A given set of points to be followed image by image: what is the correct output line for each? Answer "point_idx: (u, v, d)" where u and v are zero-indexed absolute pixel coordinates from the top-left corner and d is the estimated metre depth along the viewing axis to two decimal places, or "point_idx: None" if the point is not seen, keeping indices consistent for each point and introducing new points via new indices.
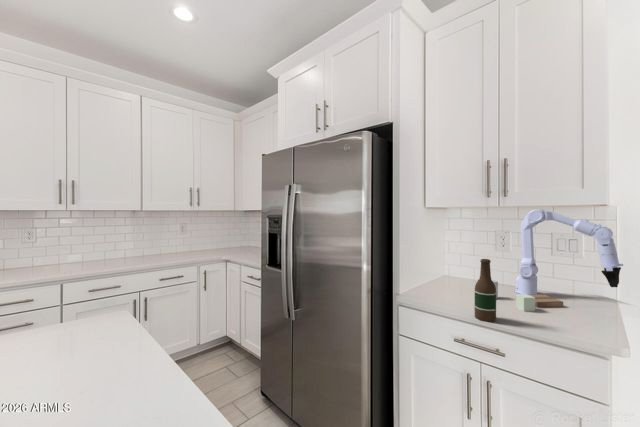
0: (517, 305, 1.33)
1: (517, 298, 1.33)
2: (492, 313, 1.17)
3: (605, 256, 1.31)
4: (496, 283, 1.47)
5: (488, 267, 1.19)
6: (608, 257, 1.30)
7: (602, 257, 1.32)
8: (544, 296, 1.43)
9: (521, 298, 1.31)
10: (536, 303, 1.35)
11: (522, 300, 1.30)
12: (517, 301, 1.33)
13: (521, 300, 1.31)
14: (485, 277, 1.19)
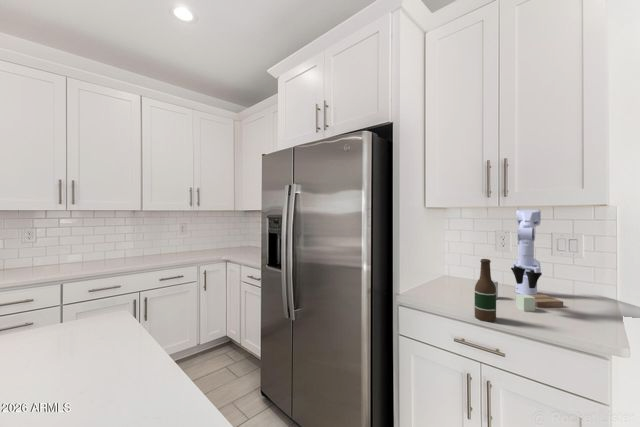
0: (517, 305, 1.33)
1: (517, 298, 1.33)
2: (492, 313, 1.17)
3: None
4: (496, 283, 1.47)
5: (488, 267, 1.19)
6: None
7: None
8: (544, 296, 1.42)
9: (521, 298, 1.31)
10: (536, 303, 1.35)
11: (522, 300, 1.30)
12: (517, 301, 1.33)
13: (521, 300, 1.31)
14: (485, 277, 1.19)
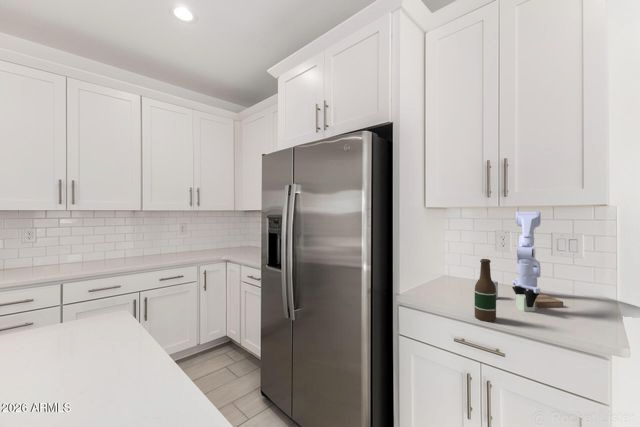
0: (517, 305, 1.33)
1: (517, 298, 1.33)
2: (492, 313, 1.17)
3: None
4: (496, 283, 1.47)
5: (488, 267, 1.19)
6: None
7: None
8: (544, 296, 1.42)
9: (521, 298, 1.31)
10: (536, 303, 1.35)
11: (522, 300, 1.30)
12: (517, 301, 1.33)
13: (521, 300, 1.31)
14: (485, 277, 1.19)
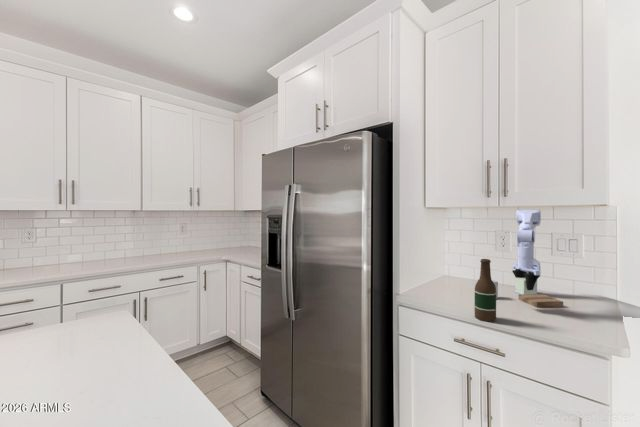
0: (517, 288, 1.33)
1: (517, 281, 1.33)
2: (492, 313, 1.17)
3: None
4: (496, 283, 1.47)
5: (488, 267, 1.19)
6: None
7: None
8: (544, 296, 1.42)
9: (521, 281, 1.30)
10: (536, 303, 1.35)
11: (523, 283, 1.30)
12: (517, 284, 1.33)
13: (521, 283, 1.31)
14: (485, 277, 1.19)
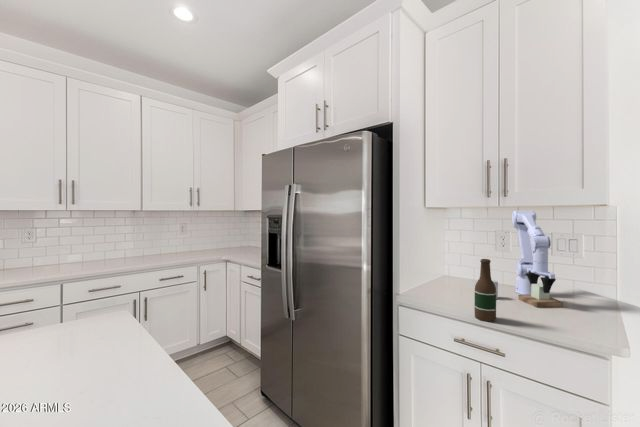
0: (532, 294, 1.42)
1: (532, 287, 1.42)
2: (492, 313, 1.17)
3: None
4: (496, 283, 1.47)
5: (488, 267, 1.19)
6: None
7: None
8: None
9: (537, 287, 1.39)
10: (536, 303, 1.35)
11: (538, 289, 1.38)
12: (532, 290, 1.42)
13: (536, 289, 1.39)
14: (485, 277, 1.19)
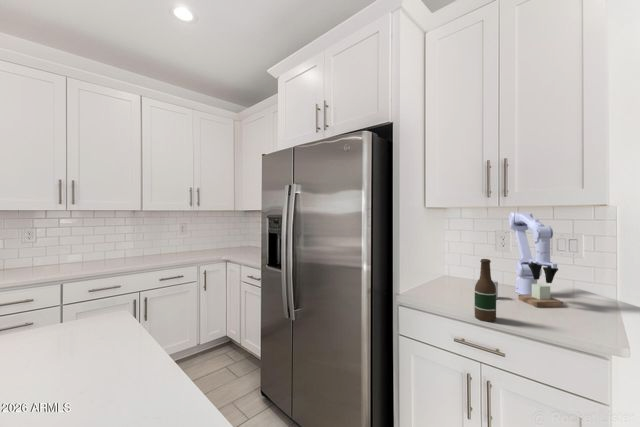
0: (533, 294, 1.42)
1: (533, 287, 1.42)
2: (492, 313, 1.17)
3: None
4: (496, 283, 1.47)
5: (488, 267, 1.19)
6: None
7: None
8: None
9: (537, 287, 1.39)
10: (536, 303, 1.35)
11: (538, 289, 1.38)
12: (533, 290, 1.42)
13: (536, 289, 1.39)
14: (485, 277, 1.19)
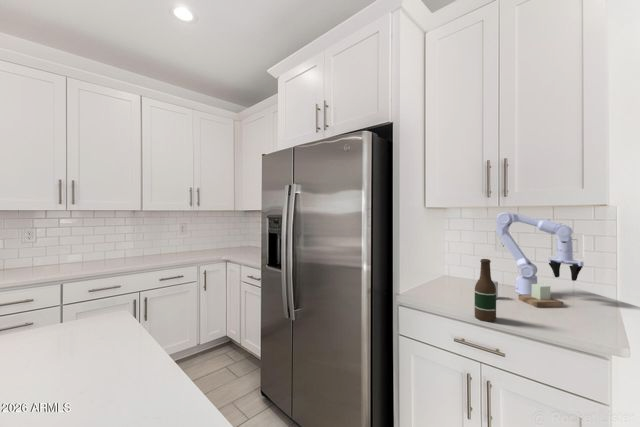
0: (533, 294, 1.41)
1: (533, 287, 1.41)
2: (492, 313, 1.17)
3: None
4: (496, 283, 1.47)
5: (488, 267, 1.19)
6: None
7: None
8: None
9: (537, 287, 1.39)
10: (536, 303, 1.35)
11: (539, 289, 1.38)
12: (533, 290, 1.41)
13: (537, 289, 1.39)
14: (485, 277, 1.19)
